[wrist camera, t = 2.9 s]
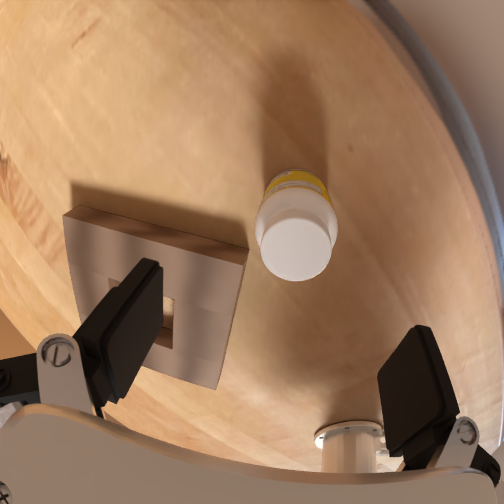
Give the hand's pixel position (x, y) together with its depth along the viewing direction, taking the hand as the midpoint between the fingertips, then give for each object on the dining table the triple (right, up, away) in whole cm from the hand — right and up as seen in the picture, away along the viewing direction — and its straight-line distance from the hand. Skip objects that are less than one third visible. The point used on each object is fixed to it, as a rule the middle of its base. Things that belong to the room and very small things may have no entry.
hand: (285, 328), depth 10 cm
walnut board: (-13, -3, +23) cm, 26 cm away
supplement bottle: (+3, +7, +15) cm, 17 cm away
